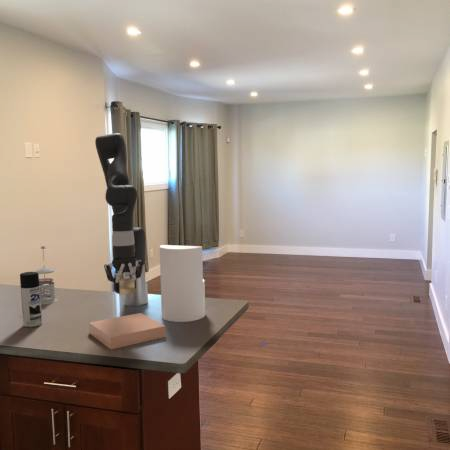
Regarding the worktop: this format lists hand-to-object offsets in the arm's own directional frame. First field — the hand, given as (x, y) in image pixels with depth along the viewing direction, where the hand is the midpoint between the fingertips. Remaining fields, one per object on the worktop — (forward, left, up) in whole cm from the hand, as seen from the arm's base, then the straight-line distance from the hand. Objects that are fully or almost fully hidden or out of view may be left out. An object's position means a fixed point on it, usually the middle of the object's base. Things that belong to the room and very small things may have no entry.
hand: (125, 291), depth 176 cm
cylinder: (-28, -9, -16) cm, 34 cm away
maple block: (0, 0, 0) cm, 0 cm away
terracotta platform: (0, 0, -16) cm, 16 cm away
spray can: (+24, -33, -16) cm, 44 cm away
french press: (+11, -66, -16) cm, 69 cm away
